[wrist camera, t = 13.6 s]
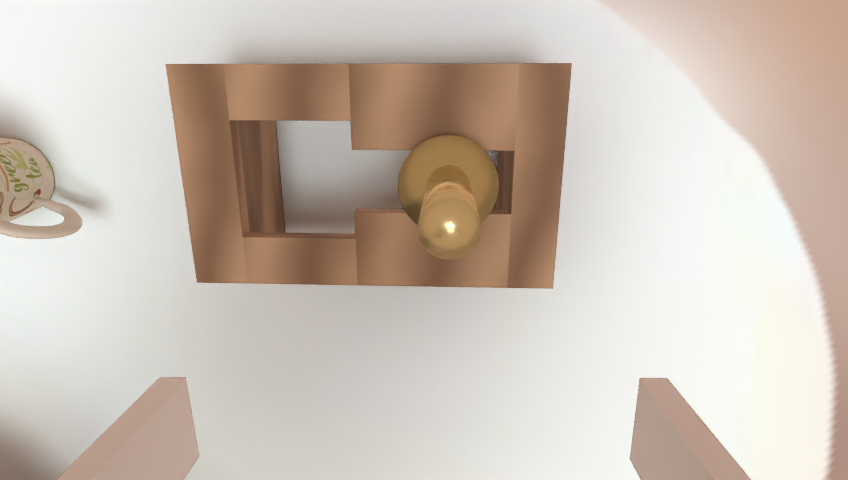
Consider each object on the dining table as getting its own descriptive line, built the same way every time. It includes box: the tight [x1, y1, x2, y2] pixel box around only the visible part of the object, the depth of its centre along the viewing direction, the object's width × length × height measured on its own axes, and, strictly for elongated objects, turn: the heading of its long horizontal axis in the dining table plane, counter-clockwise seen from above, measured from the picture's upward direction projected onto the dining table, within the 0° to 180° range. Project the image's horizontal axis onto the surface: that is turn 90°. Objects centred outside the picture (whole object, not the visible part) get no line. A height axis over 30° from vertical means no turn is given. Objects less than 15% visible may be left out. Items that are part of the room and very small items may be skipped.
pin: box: [398, 134, 499, 260], centre depth 27 cm, size 6×6×16 cm
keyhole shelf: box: [166, 63, 572, 289], centre depth 35 cm, size 24×14×9 cm, turn 90°
